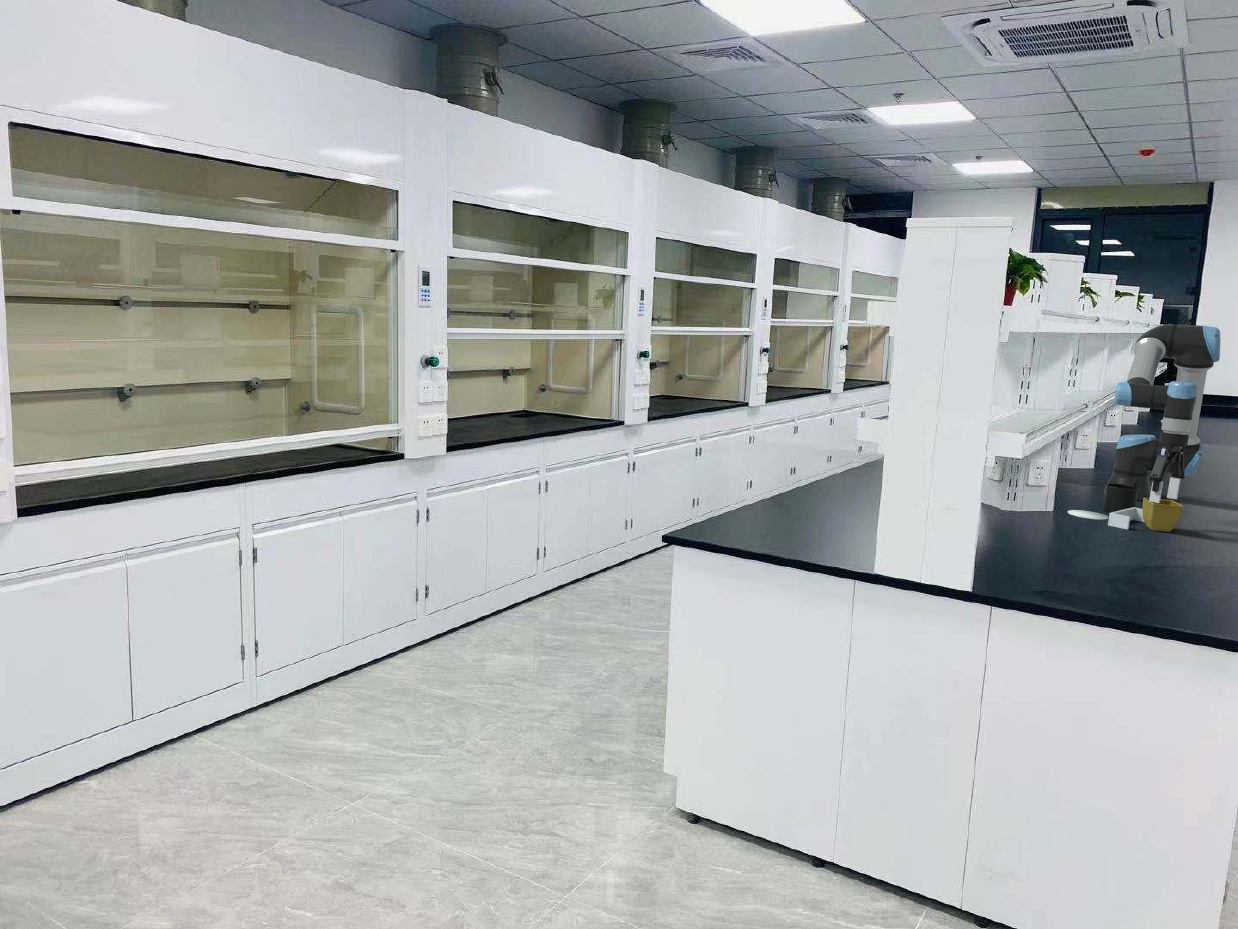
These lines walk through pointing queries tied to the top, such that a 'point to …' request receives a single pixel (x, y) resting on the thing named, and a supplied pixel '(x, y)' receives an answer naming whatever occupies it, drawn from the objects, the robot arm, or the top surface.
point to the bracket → (1125, 517)
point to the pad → (1088, 514)
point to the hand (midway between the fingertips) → (1163, 500)
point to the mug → (1119, 497)
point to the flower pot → (1161, 514)
